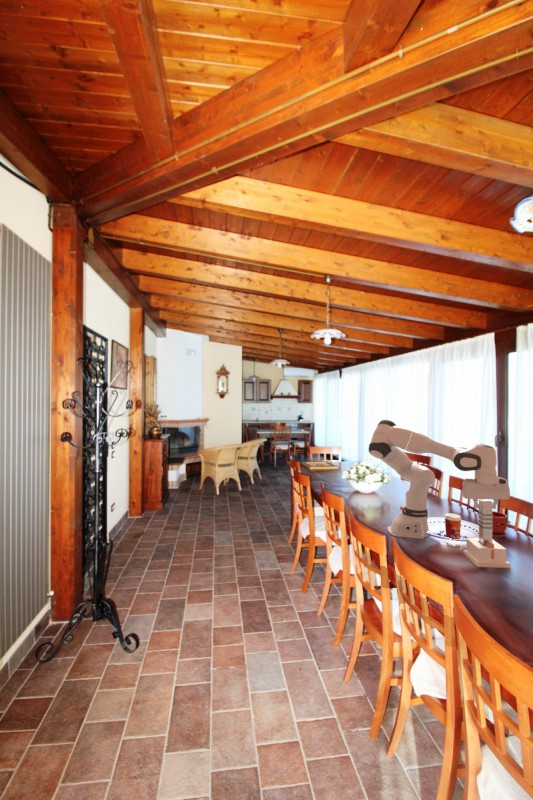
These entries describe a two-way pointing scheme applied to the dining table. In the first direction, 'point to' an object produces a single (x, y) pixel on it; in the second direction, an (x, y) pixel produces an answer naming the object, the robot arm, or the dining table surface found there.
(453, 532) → the coffee cup
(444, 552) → the dining table surface
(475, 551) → the sleeve stand
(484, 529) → the column
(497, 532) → the plant pot
